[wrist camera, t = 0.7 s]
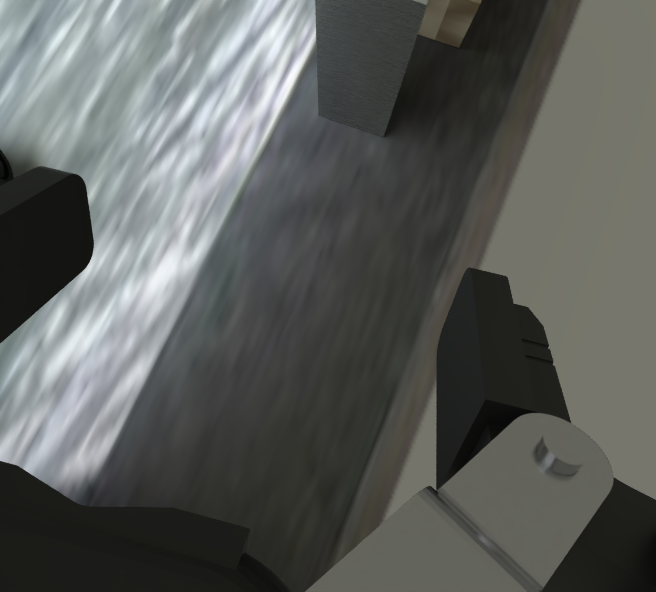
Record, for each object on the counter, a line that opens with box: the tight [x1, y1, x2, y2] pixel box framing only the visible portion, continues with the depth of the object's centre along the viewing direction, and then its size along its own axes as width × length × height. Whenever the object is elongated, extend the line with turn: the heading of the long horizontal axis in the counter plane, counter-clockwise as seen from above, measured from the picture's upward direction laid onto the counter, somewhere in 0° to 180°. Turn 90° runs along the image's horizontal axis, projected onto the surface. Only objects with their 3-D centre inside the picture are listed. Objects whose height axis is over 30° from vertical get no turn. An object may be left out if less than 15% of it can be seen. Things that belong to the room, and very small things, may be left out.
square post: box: [315, 0, 429, 137], centre depth 23 cm, size 4×4×12 cm
